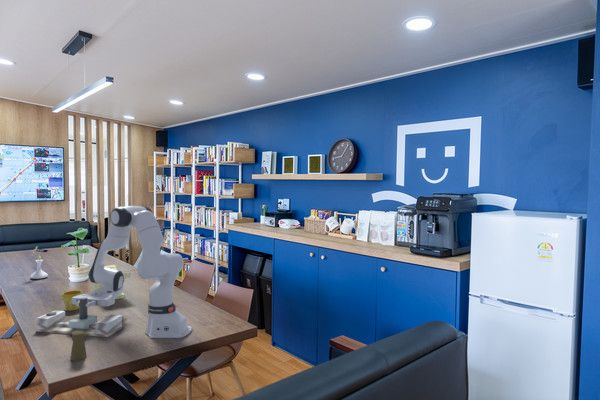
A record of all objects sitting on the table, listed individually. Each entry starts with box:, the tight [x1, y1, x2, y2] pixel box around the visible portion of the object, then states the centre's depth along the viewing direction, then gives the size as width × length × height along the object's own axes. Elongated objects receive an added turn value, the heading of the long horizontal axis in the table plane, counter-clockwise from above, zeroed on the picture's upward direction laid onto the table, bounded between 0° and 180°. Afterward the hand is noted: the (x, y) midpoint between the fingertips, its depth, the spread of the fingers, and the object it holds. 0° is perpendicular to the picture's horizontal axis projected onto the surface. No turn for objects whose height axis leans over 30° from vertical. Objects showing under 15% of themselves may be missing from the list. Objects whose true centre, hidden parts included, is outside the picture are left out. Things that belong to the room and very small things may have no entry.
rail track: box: [36, 310, 123, 338], centre depth 194 cm, size 38×12×7 cm, turn 83°
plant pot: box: [61, 290, 83, 312], centre depth 225 cm, size 10×10×10 cm
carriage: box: [68, 298, 98, 329], centre depth 194 cm, size 8×10×14 cm
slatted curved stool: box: [92, 264, 131, 300], centre depth 250 cm, size 30×16×18 cm, turn 43°
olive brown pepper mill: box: [70, 331, 88, 362], centre depth 164 cm, size 6×6×11 cm
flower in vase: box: [29, 246, 49, 280], centre depth 293 cm, size 13×11×25 cm
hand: (82, 305), depth 193 cm, fingers closed on carriage, 4 cm apart
